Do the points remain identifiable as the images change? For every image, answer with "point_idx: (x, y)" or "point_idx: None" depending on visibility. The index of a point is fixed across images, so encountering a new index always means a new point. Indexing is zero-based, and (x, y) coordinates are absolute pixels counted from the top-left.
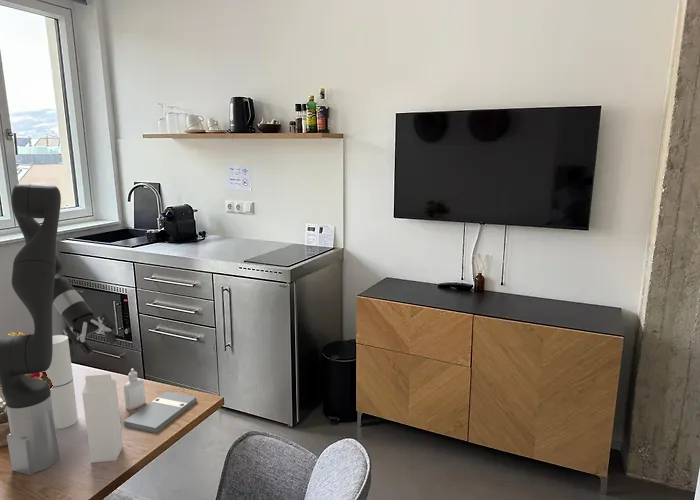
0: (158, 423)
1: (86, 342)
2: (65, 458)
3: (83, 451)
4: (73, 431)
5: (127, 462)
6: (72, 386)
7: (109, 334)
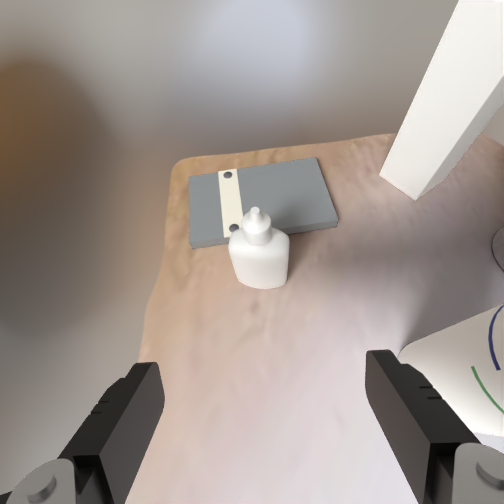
0: (302, 163)
1: (423, 432)
2: (482, 225)
3: (443, 217)
4: (432, 306)
5: None
6: (482, 313)
7: (113, 432)
